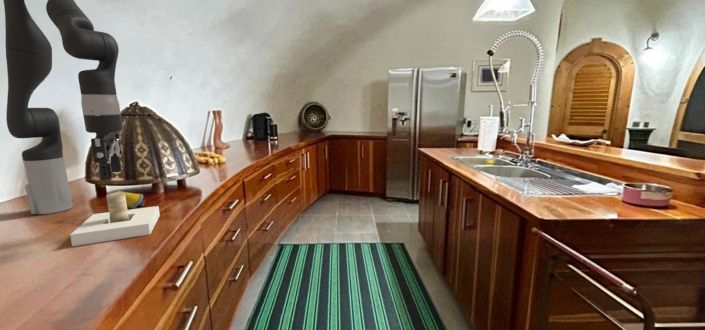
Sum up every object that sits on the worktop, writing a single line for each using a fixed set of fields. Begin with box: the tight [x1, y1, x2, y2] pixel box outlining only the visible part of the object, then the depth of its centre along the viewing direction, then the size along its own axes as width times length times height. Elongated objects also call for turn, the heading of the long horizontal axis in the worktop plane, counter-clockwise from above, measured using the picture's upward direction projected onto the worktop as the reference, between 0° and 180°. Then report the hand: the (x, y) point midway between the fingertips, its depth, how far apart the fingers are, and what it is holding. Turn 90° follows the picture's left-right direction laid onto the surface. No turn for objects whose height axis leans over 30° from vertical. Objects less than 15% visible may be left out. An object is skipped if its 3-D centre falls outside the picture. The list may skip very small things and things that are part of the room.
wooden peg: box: [106, 191, 129, 223], centre depth 84 cm, size 4×4×10 cm
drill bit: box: [115, 190, 146, 210], centre depth 102 cm, size 5×5×10 cm
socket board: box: [69, 205, 161, 247], centre depth 84 cm, size 16×16×3 cm
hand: (112, 175), depth 82 cm, fingers open, 8 cm apart
